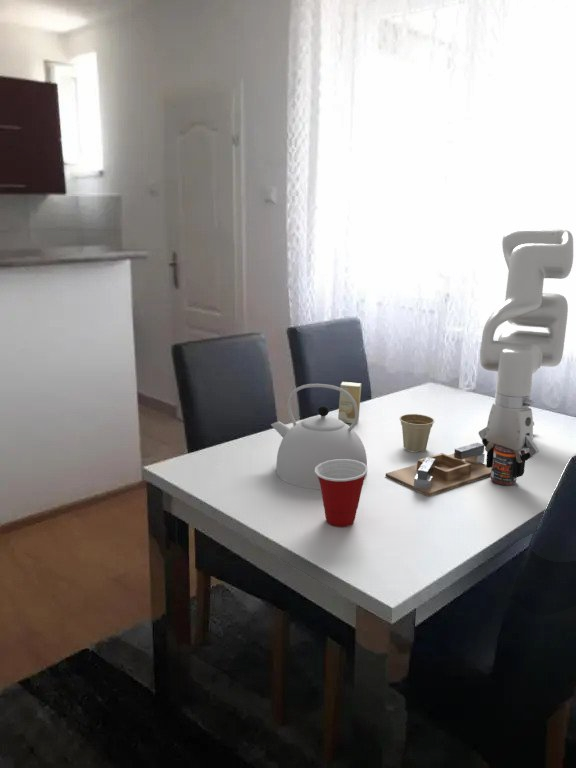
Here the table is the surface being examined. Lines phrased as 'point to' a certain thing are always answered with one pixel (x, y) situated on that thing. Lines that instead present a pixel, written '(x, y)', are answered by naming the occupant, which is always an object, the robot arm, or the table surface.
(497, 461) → the supplement bottle
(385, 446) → the table surface
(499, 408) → the robot arm
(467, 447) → the pair of grey blocks
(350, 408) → the skincare box
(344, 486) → the plastic cup
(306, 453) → the kettle
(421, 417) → the flower pot
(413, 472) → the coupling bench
